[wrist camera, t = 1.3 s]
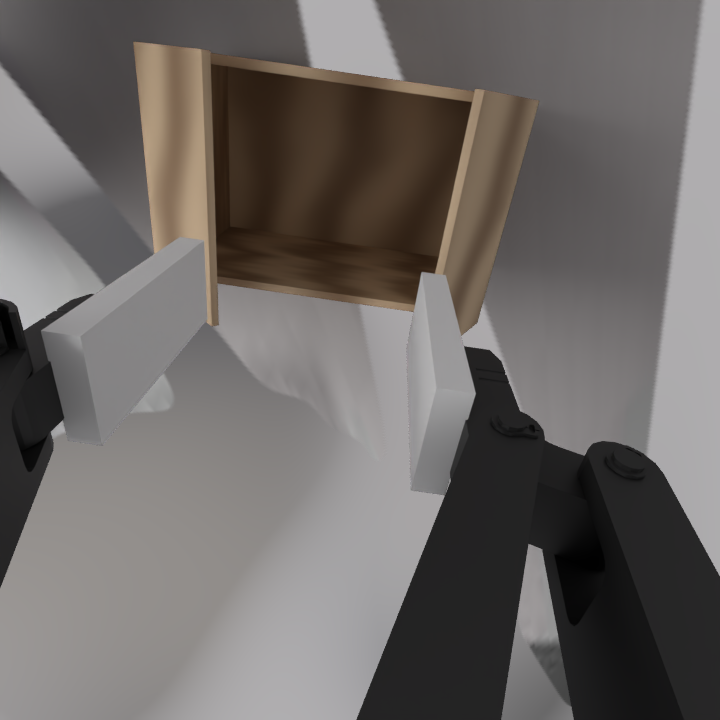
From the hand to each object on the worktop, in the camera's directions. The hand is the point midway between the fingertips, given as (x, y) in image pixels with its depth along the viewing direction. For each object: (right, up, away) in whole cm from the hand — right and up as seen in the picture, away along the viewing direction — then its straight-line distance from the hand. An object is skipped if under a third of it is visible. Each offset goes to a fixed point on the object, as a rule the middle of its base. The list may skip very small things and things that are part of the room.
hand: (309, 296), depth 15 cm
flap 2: (+8, +5, +10) cm, 13 cm away
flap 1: (-8, +7, +10) cm, 15 cm away
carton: (0, +14, +23) cm, 27 cm away
